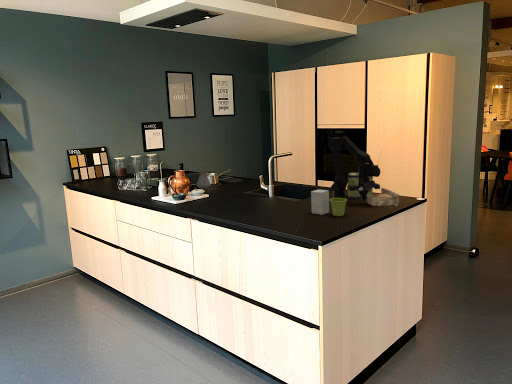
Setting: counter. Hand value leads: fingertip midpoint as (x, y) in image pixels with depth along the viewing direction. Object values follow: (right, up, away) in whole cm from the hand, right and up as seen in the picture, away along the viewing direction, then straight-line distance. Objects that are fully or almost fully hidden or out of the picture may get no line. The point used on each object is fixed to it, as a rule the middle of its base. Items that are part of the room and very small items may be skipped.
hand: (363, 200), depth 252 cm
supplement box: (-28, -7, -16) cm, 33 cm away
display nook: (+11, -1, +1) cm, 11 cm away
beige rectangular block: (+10, -2, 0) cm, 10 cm away
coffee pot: (-103, +8, +80) cm, 131 cm away
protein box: (+3, +2, +20) cm, 21 cm away
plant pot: (-20, -7, -23) cm, 31 cm away
